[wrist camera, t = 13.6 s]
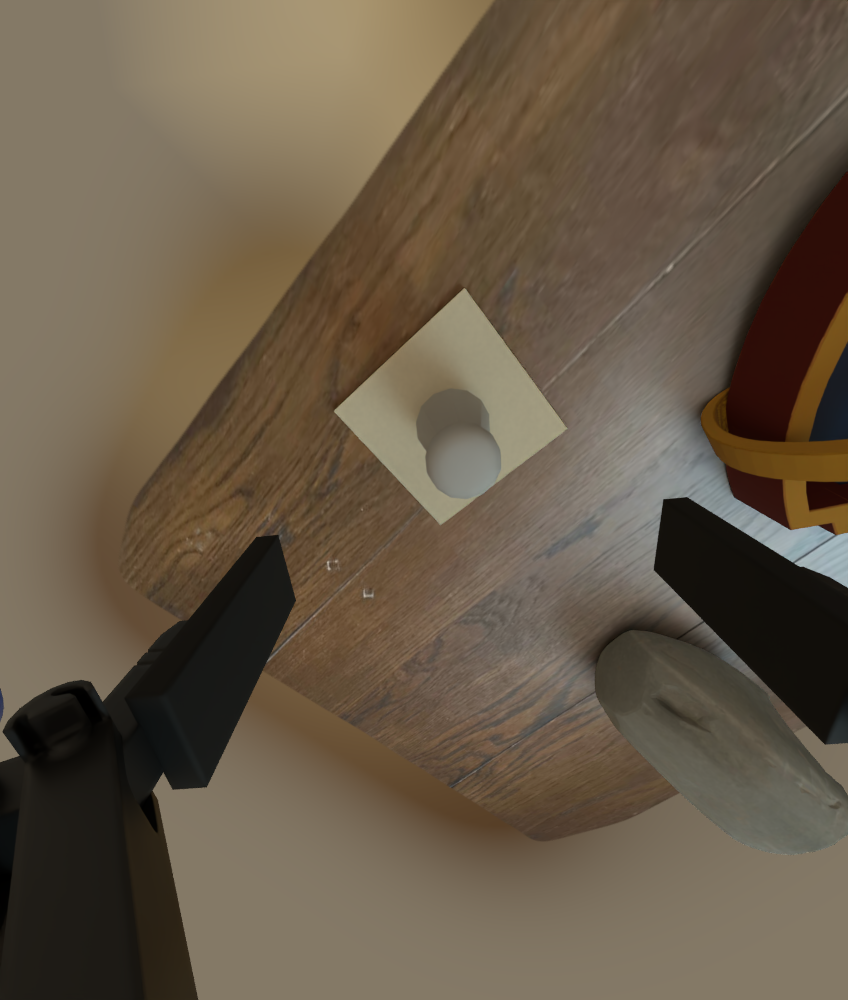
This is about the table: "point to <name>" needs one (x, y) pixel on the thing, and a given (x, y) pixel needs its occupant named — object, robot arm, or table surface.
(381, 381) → the placemat
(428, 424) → the salt shaker
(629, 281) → the table surface
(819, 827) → the decorative stone
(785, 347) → the decorative basket
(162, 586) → the table surface
